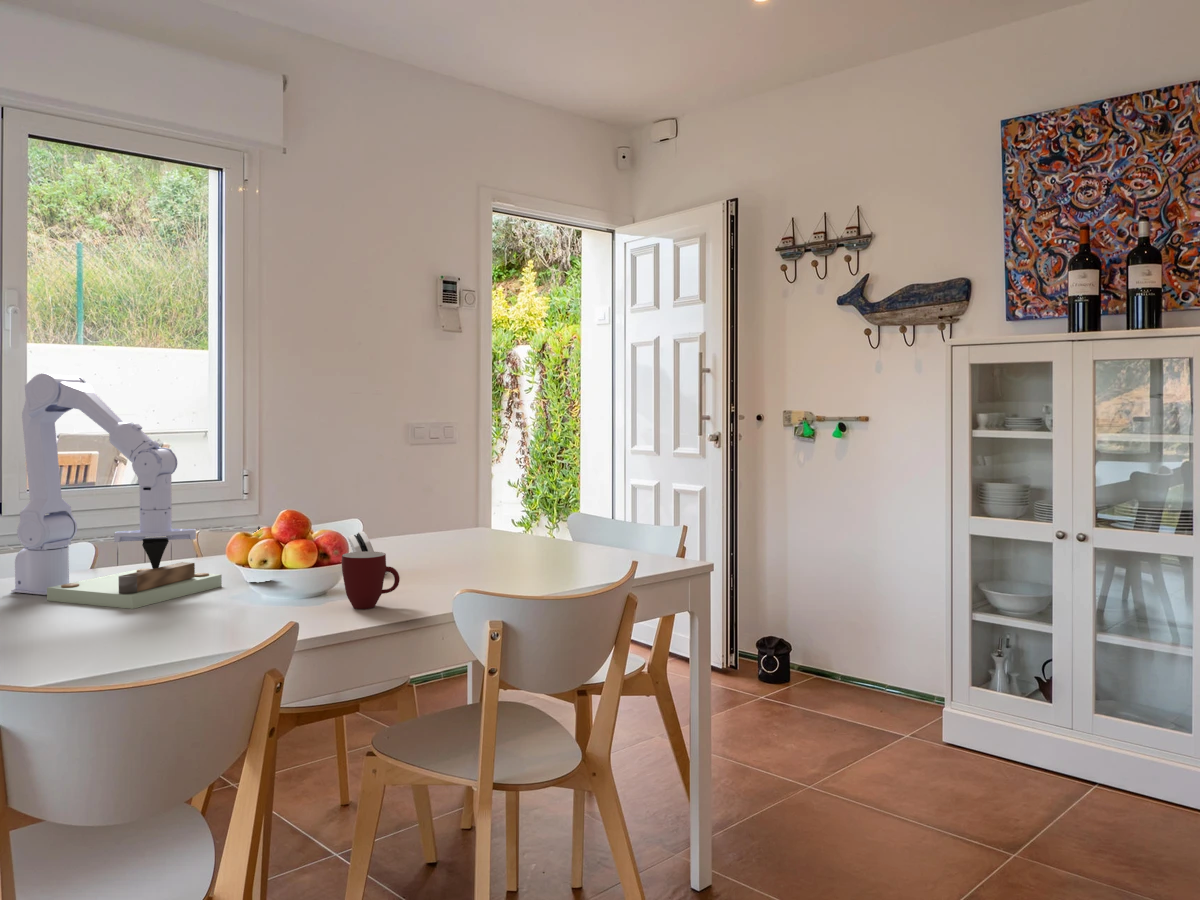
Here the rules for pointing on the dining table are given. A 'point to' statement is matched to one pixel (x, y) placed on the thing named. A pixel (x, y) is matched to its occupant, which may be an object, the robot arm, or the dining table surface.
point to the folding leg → (156, 577)
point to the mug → (366, 577)
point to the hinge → (360, 543)
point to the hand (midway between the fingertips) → (156, 576)
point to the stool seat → (107, 593)
